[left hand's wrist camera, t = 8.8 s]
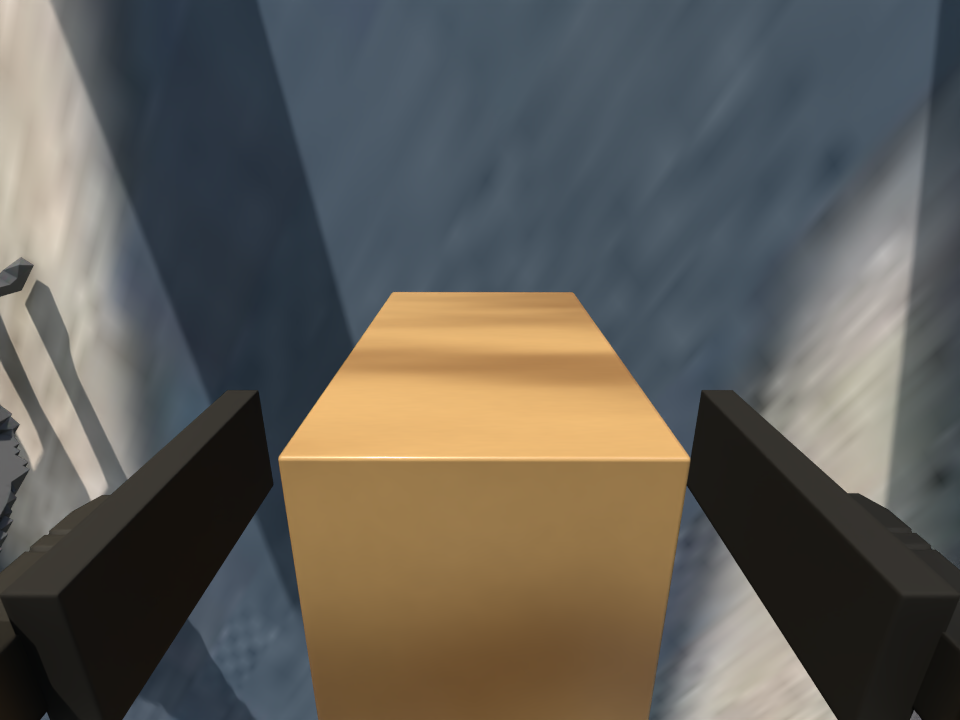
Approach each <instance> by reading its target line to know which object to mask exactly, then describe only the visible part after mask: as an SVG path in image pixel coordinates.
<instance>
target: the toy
mask: <svg viewBox="0 0 960 720" xmlns="http://www.w3.org/2000/svg"><path fill="white" fill-rule="evenodd" d="M33 266H34V265H33V264H31V263H29V262H28V261H26V260H25V259H23V258H22V257H21V258H19V259H18V260H16V261H15V262H14V263H12V264H11V265H10V266H8V267H7V268H6V269H4V270H3V271H2V272H1V273H0V297H1V296H4V295H7V294H11V293H14V292H18V291H21V290H22V288H23V286H24V284H25V282H26V280H27V278H28V276H29V274H30V272H31V270H32V268H33ZM11 415H12V414H11V413H10V412H9V411H7V410H6V409H5V408H3V407H2V406H1V405H0V547H1V545H2V544H3V542H4V540H5V538H6V537H7V535H8V534H7V533H6V532H7V530H8V529H9V527H10V525H11V523H12V522H13V520H12V519H10V518H9V516H10V514H11V513H12V510H11V507H12V506H13V504H14V502H15V500H16V498H17V497H16V496H15V494H16V492H17V491H18V489H19V487H20V485H21V484H22V482H23V480H24V478H25V476H26V475H27V473H28V471H29V469H28V468H26V465H27V463H28V461H26V460H24V459H22V458H20V457H19V456H18V454H19V452H20V450H18V449H17V447H18V445H19V442H18V441H17V440H16V439H15V436H14V434H15V432H16V430H17V428H18V427H19V425H20V424H19V423H17V422H16V421H15V420H14V419H13V418H12V417H11ZM1 550H2V548H0V552H1Z"/></svg>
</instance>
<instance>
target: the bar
mask: <svg viewBox="0 0 960 720" xmlns="http://www.w3.org/2000/svg"><path fill="white" fill-rule="evenodd" d="M278 461H279V467H280V474H281V480H282V487H283V493H284V500H285V506H286V513H287V519H288V526H289V532H290V539H291V545H292V552H293V558H294V565H295V571H296V578H297V584H298V591H299V597H300V604H301V610H302V617H303V623H304V630H305V636H306V643H307V649H308V656H309V662H310V669H311V675H312V682H313V688H314V695H315V701H316V708H317V714H318V720H649V714H650V708H651V701H652V695H653V689H654V683H655V677H656V671H657V664H658V658H659V652H660V646H661V640H662V633H663V627H664V621H665V615H666V609H667V603H668V596H669V590H670V584H671V578H672V572H673V565H674V559H675V553H676V547H677V541H678V535H679V528H680V522H681V516H682V510H683V504H684V497H685V491H686V485H687V479H688V473H689V467H690V457H689V456H688V454H687V453H686V451H685V450H684V448H683V447H682V446H681V444H680V443H679V441H678V440H677V439H676V437H675V436H674V434H673V433H672V432H671V430H670V429H669V427H668V426H667V424H666V423H665V422H664V420H663V419H662V417H661V416H660V415H659V413H658V412H657V410H656V409H655V408H654V406H653V405H652V403H651V402H650V400H649V399H648V398H647V396H646V395H645V393H644V392H643V391H642V389H641V388H640V386H639V385H638V383H637V382H636V381H635V379H634V378H633V376H632V375H631V374H630V372H629V371H628V369H627V368H626V367H625V365H624V364H623V362H622V361H621V359H620V358H619V357H618V355H617V354H616V352H615V351H614V350H613V348H612V347H611V345H610V344H609V343H608V341H607V340H606V338H605V337H604V335H603V334H602V333H601V331H600V330H599V328H598V327H597V326H596V324H595V323H594V321H593V320H592V318H591V317H590V316H589V314H588V313H587V311H586V310H585V309H584V307H583V306H582V304H581V303H580V302H579V300H578V299H577V297H576V296H575V294H574V293H570V292H393V293H392V294H391V295H390V297H389V298H388V300H387V301H386V303H385V304H384V306H383V307H382V308H381V310H380V311H379V313H378V314H377V316H376V317H375V319H374V320H373V321H372V323H371V324H370V326H369V327H368V329H367V330H366V332H365V333H364V334H363V336H362V337H361V339H360V340H359V342H358V343H357V345H356V346H355V347H354V349H353V350H352V352H351V353H350V355H349V356H348V358H347V359H346V360H345V362H344V363H343V365H342V366H341V368H340V369H339V371H338V372H337V373H336V375H335V376H334V378H333V379H332V381H331V382H330V384H329V385H328V386H327V388H326V389H325V391H324V392H323V394H322V395H321V397H320V398H319V399H318V401H317V402H316V404H315V405H314V407H313V408H312V410H311V411H310V412H309V414H308V415H307V417H306V418H305V420H304V421H303V423H302V424H301V425H300V427H299V428H298V430H297V431H296V433H295V434H294V436H293V437H292V438H291V440H290V441H289V443H288V444H287V446H286V447H285V449H284V450H283V451H282V453H281V454H280V456H279V459H278Z"/></svg>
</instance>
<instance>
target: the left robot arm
mask: <svg viewBox="0 0 960 720" xmlns="http://www.w3.org/2000/svg"><path fill="white" fill-rule="evenodd" d="M272 486H273V479H272V472H271V466H270V460H269V454H268V448H267V441H266V435H265V429H264V423H263V416H262V410H261V404H260V398H259V392H258V390H227V391H226V392H225V393H224V394H223V395H222V396H221V397H219V398H218V399H217V400H216V401H215V402H214V403H213V404H212V405H211V406H209V407H208V408H207V409H206V410H205V411H204V412H203V413H202V414H201V415H199V416H198V417H197V418H196V419H195V420H194V421H193V422H192V423H190V424H189V425H188V426H187V427H186V428H185V429H184V430H183V431H182V432H180V433H179V434H178V435H177V436H176V437H175V438H174V439H173V440H172V441H170V442H169V443H168V444H167V445H166V446H165V447H164V448H163V449H161V450H160V451H159V452H158V453H157V454H156V455H155V456H154V457H153V458H151V459H150V460H149V461H148V462H147V463H146V464H145V465H144V466H142V467H141V468H140V469H139V470H138V471H137V472H136V473H135V474H134V475H132V476H131V477H130V478H129V479H128V480H127V481H126V482H125V483H124V484H122V485H121V486H120V487H119V488H118V489H117V490H116V491H115V492H113V493H112V494H111V495H101V496H100V497H98V498H96V499H94V500H92V501H91V502H89V503H87V504H85V505H83V506H81V507H80V508H78V509H76V510H74V511H72V512H71V513H70V514H69V515H68V516H66V517H65V518H64V519H63V520H62V521H61V522H59V523H58V524H57V525H56V526H55V527H53V528H52V529H51V530H50V531H49V535H44V536H43V537H42V538H41V539H39V540H38V541H37V542H36V543H35V544H34V545H32V546H31V547H30V551H29V552H24V553H23V554H22V555H21V556H19V557H18V558H17V559H16V560H15V561H14V562H12V563H11V564H10V565H9V566H8V567H7V568H5V569H4V570H3V571H2V572H1V573H0V720H40V719H41V718H42V717H43V716H44V714H45V713H46V712H47V713H48V716H49V718H50V720H122V719H123V718H124V716H125V715H126V713H127V712H128V710H129V708H130V707H131V705H132V704H133V702H134V701H135V699H136V698H137V696H138V694H139V693H140V691H141V690H142V688H143V687H144V685H145V684H146V682H147V681H148V679H149V677H150V676H151V674H152V673H153V671H154V670H155V668H156V667H157V665H158V663H159V662H160V660H161V659H162V657H163V656H164V654H165V653H166V651H167V649H168V648H169V646H170V645H171V643H172V642H173V640H174V639H175V637H176V635H177V634H178V632H179V631H180V629H181V628H182V626H183V625H184V623H185V621H186V620H187V618H188V617H189V615H190V614H191V612H192V611H193V609H194V608H195V606H196V604H197V603H198V601H199V600H200V598H201V597H202V595H203V594H204V592H205V590H206V589H207V587H208V586H209V584H210V583H211V581H212V580H213V578H214V576H215V575H216V573H217V572H218V570H219V569H220V567H221V566H222V564H223V562H224V561H225V559H226V558H227V556H228V555H229V553H230V552H231V550H232V548H233V547H234V545H235V544H236V542H237V541H238V539H239V538H240V536H241V535H242V533H243V531H244V530H245V528H246V527H247V525H248V524H249V522H250V521H251V519H252V517H253V516H254V514H255V513H256V511H257V510H258V508H259V507H260V505H261V503H262V502H263V500H264V499H265V497H266V496H267V494H268V493H269V491H270V489H271V488H272ZM687 486H688V488H689V489H690V491H691V493H692V494H693V496H694V497H695V499H696V500H697V502H698V503H699V505H700V507H701V508H702V510H703V511H704V513H705V514H706V516H707V517H708V519H709V521H710V522H711V524H712V525H713V527H714V528H715V530H716V531H717V533H718V535H719V536H720V538H721V539H722V541H723V542H724V544H725V545H726V547H727V549H728V550H729V552H730V553H731V555H732V556H733V558H734V559H735V561H736V562H737V564H738V566H739V567H740V569H741V570H742V572H743V573H744V575H745V576H746V578H747V580H748V581H749V583H750V584H751V586H752V587H753V589H754V590H755V592H756V594H757V595H758V597H759V598H760V600H761V601H762V603H763V604H764V606H765V608H766V609H767V611H768V612H769V614H770V615H771V617H772V618H773V620H774V622H775V623H776V625H777V626H778V628H779V629H780V631H781V632H782V634H783V635H784V637H785V639H786V640H787V642H788V643H789V645H790V646H791V648H792V649H793V651H794V653H795V654H796V656H797V657H798V659H799V660H800V662H801V663H802V665H803V667H804V668H805V670H806V671H807V673H808V674H809V676H810V677H811V679H812V681H813V682H814V684H815V685H816V687H817V688H818V690H819V691H820V693H821V695H822V696H823V698H824V699H825V701H826V702H827V704H828V705H829V707H830V708H831V710H832V712H833V713H834V715H835V716H836V718H837V719H838V720H910V718H911V716H912V713H913V711H914V710H915V711H916V713H917V714H918V715H919V716H920V718H921V719H922V720H960V570H959V569H958V568H957V567H956V566H954V565H953V564H952V563H951V562H950V561H948V560H947V559H946V558H945V557H944V556H943V555H941V554H940V553H939V552H938V551H937V550H932V549H931V545H930V544H928V543H927V542H926V541H925V540H924V539H922V538H921V537H920V536H919V535H918V534H917V533H912V531H911V528H909V527H908V526H907V525H906V524H905V523H904V522H902V521H901V520H900V519H899V518H898V517H896V516H895V515H894V514H893V513H892V512H891V511H889V510H888V509H886V508H884V507H882V506H881V505H879V504H877V503H875V502H873V501H871V500H870V499H868V498H866V497H864V496H862V495H861V494H859V493H847V492H845V491H844V490H843V489H842V488H841V487H840V486H839V485H838V484H836V483H835V482H834V481H833V480H832V479H831V478H830V477H829V476H828V475H826V474H825V473H824V472H823V471H822V470H821V469H820V468H819V467H817V466H816V465H815V464H814V463H813V462H812V461H811V460H810V459H809V458H807V457H806V456H805V455H804V454H803V453H802V452H801V451H800V450H799V449H797V448H796V447H795V446H794V445H793V444H792V443H791V442H790V441H788V440H787V439H786V438H785V437H784V436H783V435H782V434H781V433H780V432H778V431H777V430H776V429H775V428H774V427H773V426H772V425H771V424H770V423H768V422H767V421H766V420H765V419H764V418H763V417H762V416H761V415H759V414H758V413H757V412H756V411H755V410H754V409H753V408H752V407H751V406H749V405H748V404H747V403H746V402H745V401H744V400H743V399H742V398H740V397H739V396H738V395H737V394H736V393H735V392H734V391H733V390H702V391H701V398H700V404H699V410H698V416H697V423H696V429H695V435H694V441H693V447H692V454H691V460H690V467H689V473H688V479H687Z"/></svg>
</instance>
